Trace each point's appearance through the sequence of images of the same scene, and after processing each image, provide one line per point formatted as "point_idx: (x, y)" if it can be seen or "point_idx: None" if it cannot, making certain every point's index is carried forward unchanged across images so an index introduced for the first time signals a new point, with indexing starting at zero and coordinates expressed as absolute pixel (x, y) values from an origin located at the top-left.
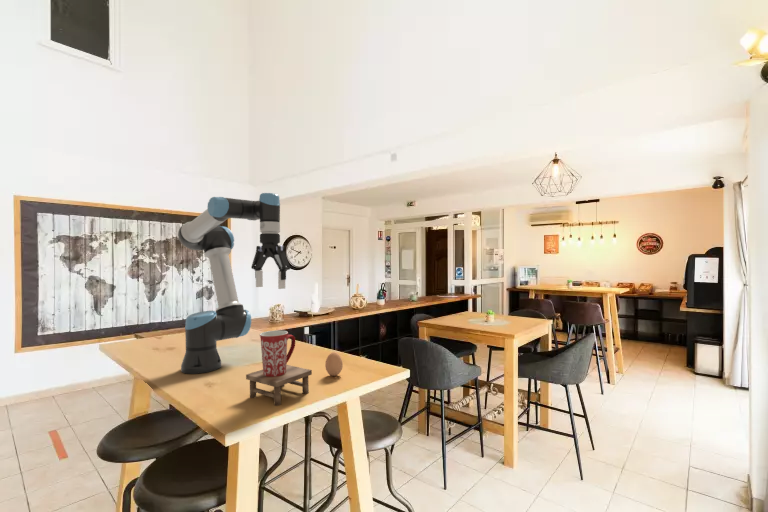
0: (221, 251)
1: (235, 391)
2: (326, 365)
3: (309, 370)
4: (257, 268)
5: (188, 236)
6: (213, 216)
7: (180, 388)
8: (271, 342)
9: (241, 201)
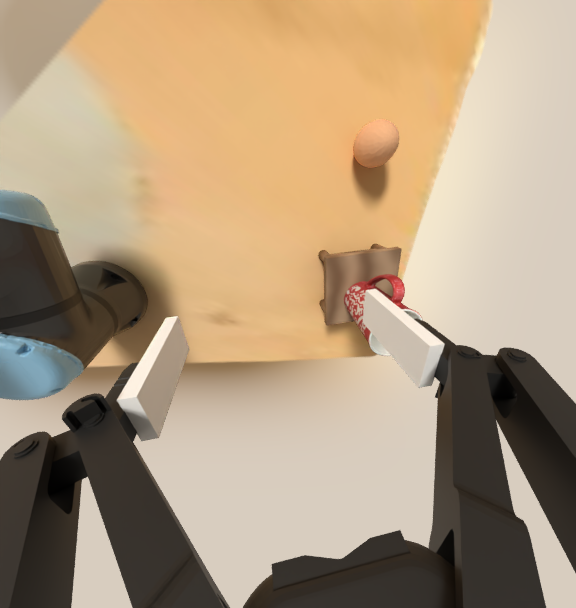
0: None
1: (284, 308)
2: (368, 166)
3: (399, 252)
4: (139, 453)
5: None
6: None
7: (209, 349)
8: None
9: None
